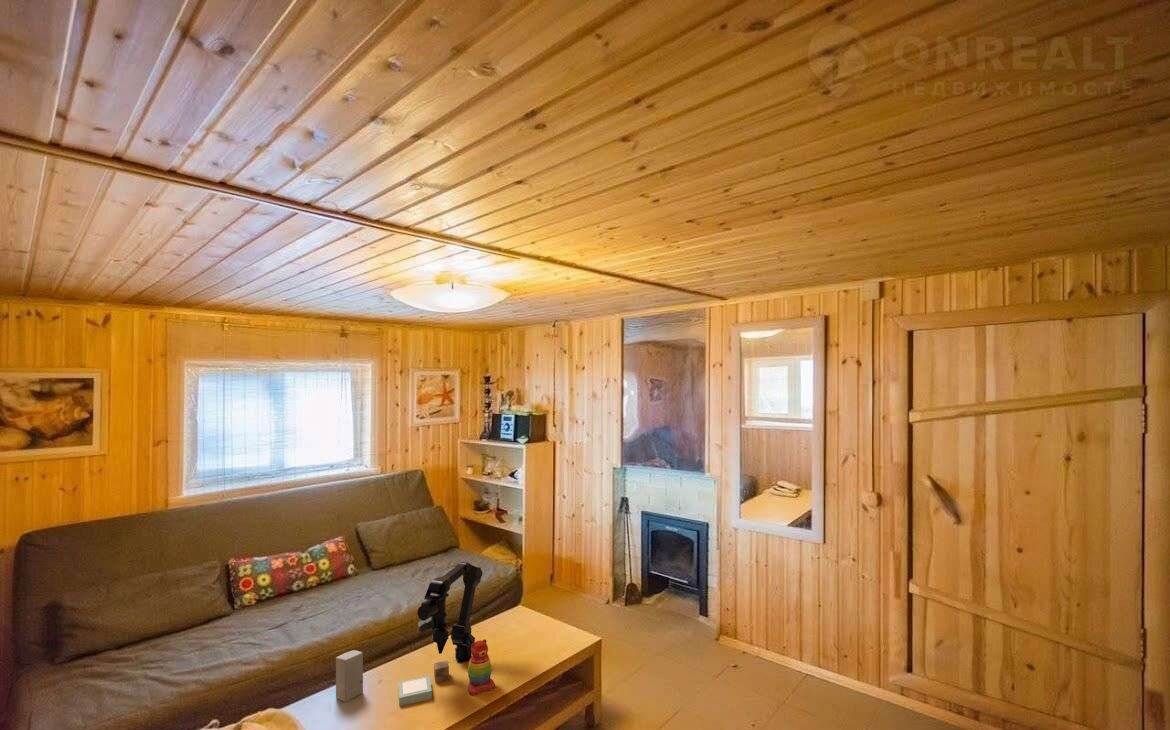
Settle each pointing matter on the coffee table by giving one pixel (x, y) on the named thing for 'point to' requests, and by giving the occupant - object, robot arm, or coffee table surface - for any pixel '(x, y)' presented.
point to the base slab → (415, 690)
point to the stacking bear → (479, 669)
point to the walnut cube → (441, 671)
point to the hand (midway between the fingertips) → (439, 648)
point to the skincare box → (349, 675)
